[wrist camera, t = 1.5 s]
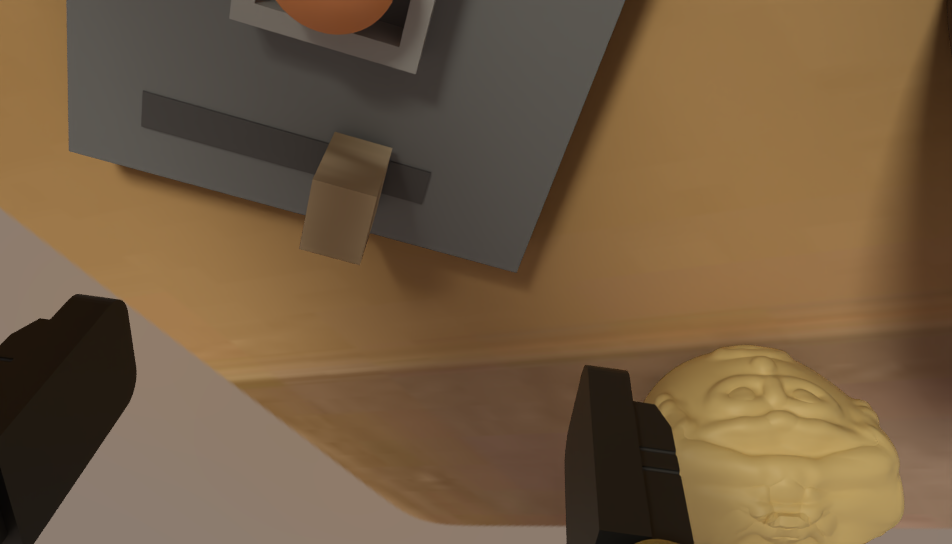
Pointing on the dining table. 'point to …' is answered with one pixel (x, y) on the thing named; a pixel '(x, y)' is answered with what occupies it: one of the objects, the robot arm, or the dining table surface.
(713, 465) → the sculpture
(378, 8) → the push button
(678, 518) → the robot arm
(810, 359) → the dining table surface
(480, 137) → the control panel
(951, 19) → the plant pot
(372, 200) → the slide paddle
